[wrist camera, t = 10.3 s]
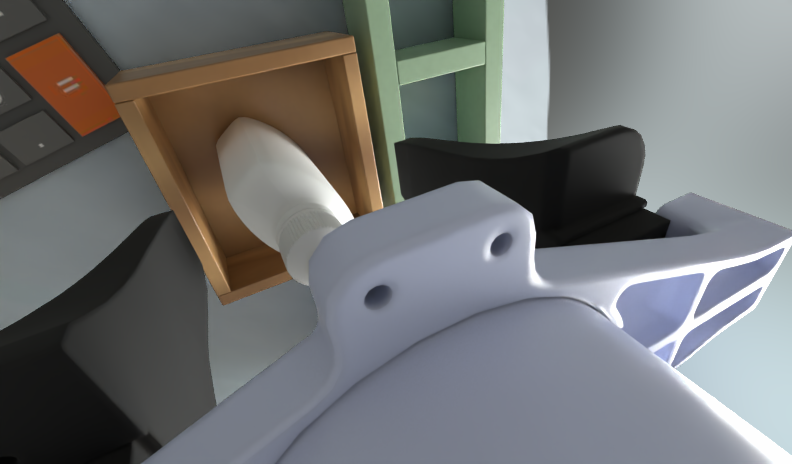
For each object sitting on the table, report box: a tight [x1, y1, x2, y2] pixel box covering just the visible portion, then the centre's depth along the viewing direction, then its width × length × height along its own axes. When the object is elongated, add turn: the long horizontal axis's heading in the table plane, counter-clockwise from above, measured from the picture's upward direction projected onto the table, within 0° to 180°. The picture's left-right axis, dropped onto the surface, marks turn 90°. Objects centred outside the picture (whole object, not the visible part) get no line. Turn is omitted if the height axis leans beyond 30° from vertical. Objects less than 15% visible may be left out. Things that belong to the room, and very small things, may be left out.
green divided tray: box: [342, 0, 504, 208], centre depth 21 cm, size 18×8×3 cm, turn 9°
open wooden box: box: [105, 31, 383, 305], centre depth 20 cm, size 11×10×4 cm
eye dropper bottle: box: [216, 117, 354, 285], centre depth 16 cm, size 4×6×12 cm
